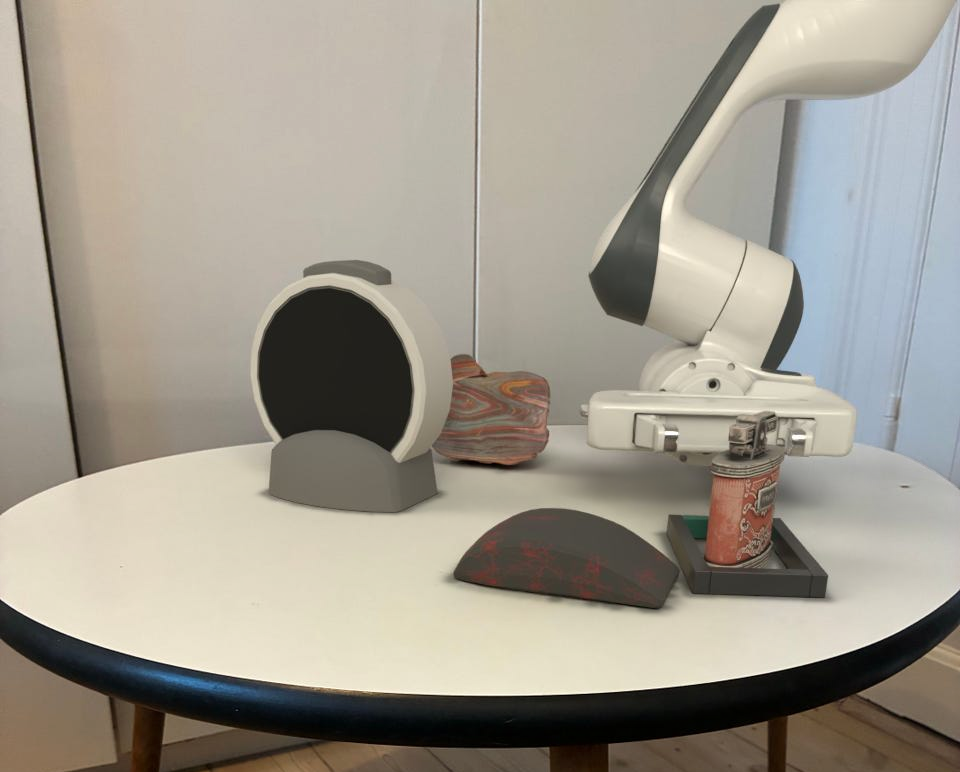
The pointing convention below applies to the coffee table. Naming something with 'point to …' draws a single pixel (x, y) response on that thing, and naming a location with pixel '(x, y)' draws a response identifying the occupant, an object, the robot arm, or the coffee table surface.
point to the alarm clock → (351, 389)
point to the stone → (494, 415)
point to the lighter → (744, 494)
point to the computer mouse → (570, 559)
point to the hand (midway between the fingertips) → (734, 443)
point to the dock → (794, 581)
